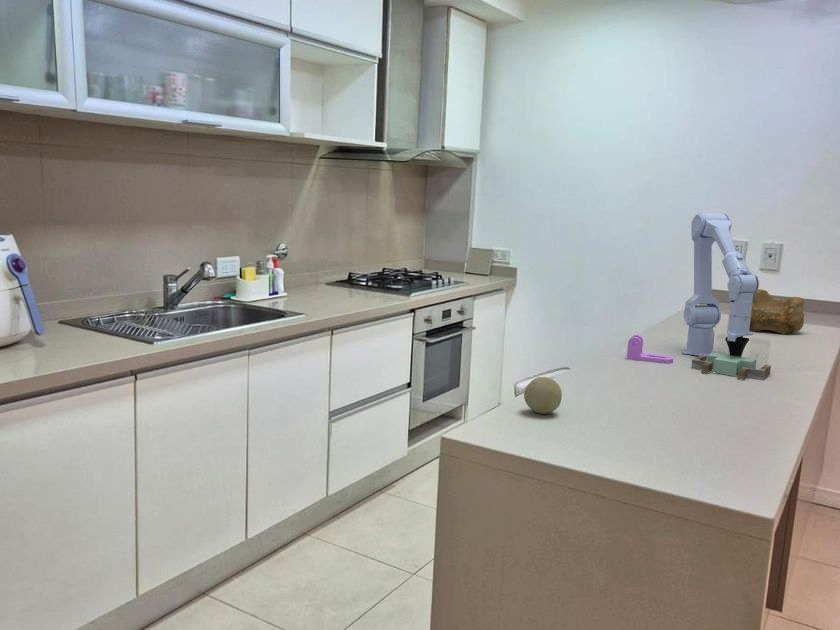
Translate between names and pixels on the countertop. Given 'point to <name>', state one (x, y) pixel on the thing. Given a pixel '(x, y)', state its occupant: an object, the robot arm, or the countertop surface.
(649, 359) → the bracket
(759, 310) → the rough brown rock
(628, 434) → the countertop surface
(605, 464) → the countertop surface
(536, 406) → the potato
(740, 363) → the t slider
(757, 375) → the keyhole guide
